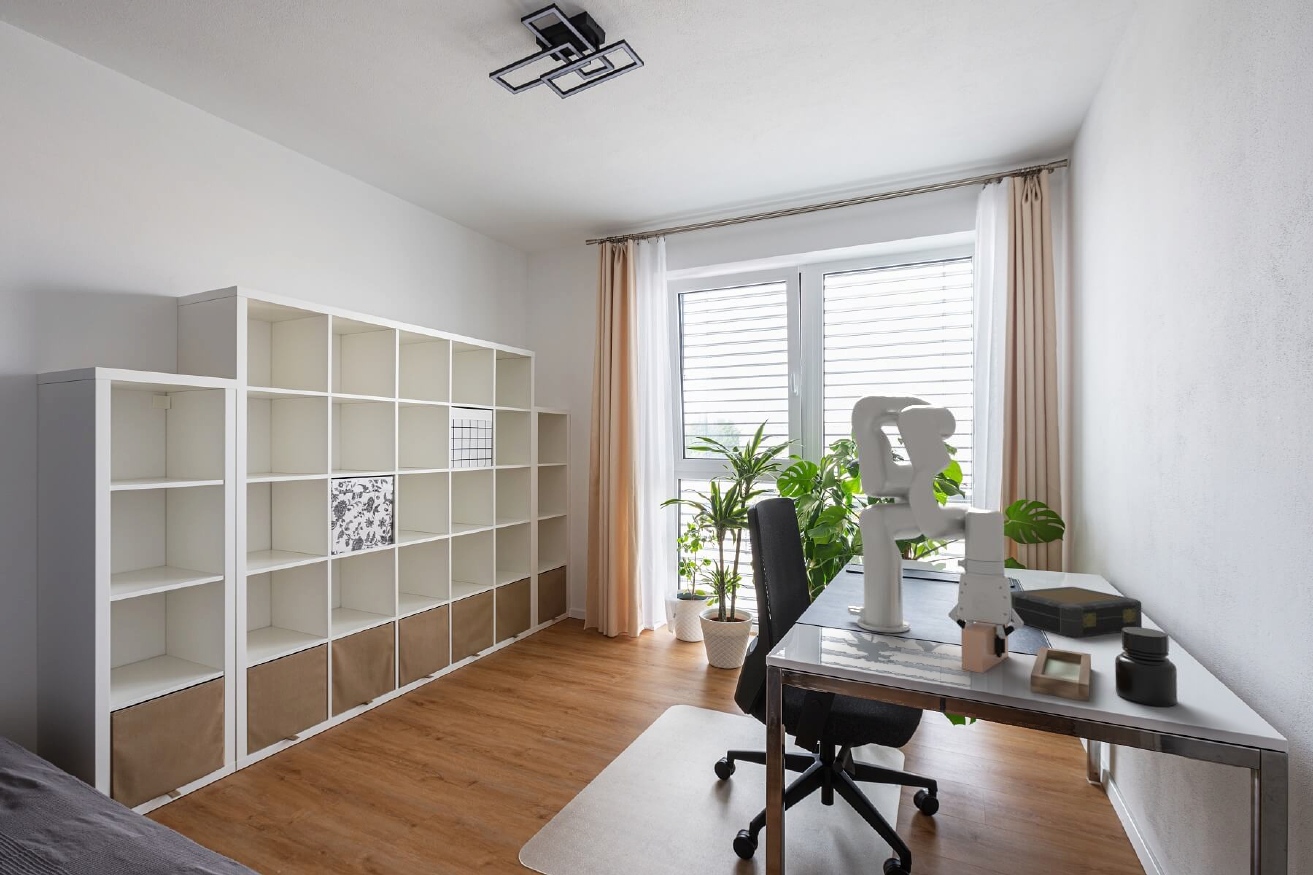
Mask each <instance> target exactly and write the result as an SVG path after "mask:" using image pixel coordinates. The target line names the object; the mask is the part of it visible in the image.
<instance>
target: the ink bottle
mask: <svg viewBox="0 0 1313 875" xmlns="http://www.w3.org/2000/svg"><path fill="white" fill-rule="evenodd" d="M1169 639H1170V638H1169V634H1168V633H1167V632H1164V631H1161V630H1157V629H1154V628H1149V627H1142V628H1140V627H1125V628H1122V632H1121V645H1122V646H1121V649H1122V650H1123V651H1122V652H1120V654H1118V655H1117V656H1116V657H1115V661H1114V662H1115V664H1114V666H1115V667H1114V668H1115V669H1114V670H1115V671H1114V673H1115V692H1116V694H1117V695H1118V696H1120V697H1122V698H1123V699H1126V700H1128V701H1132V702H1134V703H1138V704H1141V705H1146V706H1155V707H1170V706H1174V705H1176V704H1178V673H1177V672H1178V671H1177V667H1176V665H1175V664H1174V663H1173V661H1171V660H1170V659H1169V658H1168V656H1169V651H1170V649H1169V648H1170V645H1169V644H1170V642H1169Z"/></svg>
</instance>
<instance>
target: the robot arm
mask: <svg viewBox="0 0 1313 875" xmlns="http://www.w3.org/2000/svg"><path fill="white" fill-rule="evenodd" d="M850 421H851V428H852V432H853V436H854V439H855V442H856V448H857V459H858V468H859V477H860V484H861V489H862V492H863V493H864V494H865V495H866V496H868V498H869V497H870V498H875V499H890V498H891V499H893V500H894V502H883V503H882V502H878V503H872V504H869V505H867V506H865V507H864V508H863V509H862V510H861V512H860V514H859V516H858V526H859V532H860V536H861V537H860V538H861V540H862V541H861V542H862V556H863V557H862V558H863V559H862V561H863V563H862V564H863V606H860V607H857V606H853V605H849V606H848V608H847V612H848V614H850V616H851V615H852V616H858V617H859V618H858V619H857V626H859V627H860V628H862V629H864V630H868V631H871V632H879V633H887V634H888V633H895V634H896V633H903V632H907V631H909V630H910V623H909V622H908V621H906V620H904V606H903V605H904V604H903V603H904V592H903V590H904V586H903V585H904V584H903V583H904V582H903V581H904V580H903V577H904V576H903V571H904V570H903V568H904V567H903V557H902V552H901V550H900V549H899V548H900V547H898V545H897V543H896V541H898V540H911V539H916V538H919V537H920V536H921V535H923V536H924V537H925V538H928V540H930V541H935V542H936V541H937V542H938V541H941V542H942V541H960V540H961V541H962V540H963V541H964V558H963V559H958V560H957V567H962V568H963V569H964V571H962V572H961V573H960V577H959V581H958V592H957V593H958V594H957V604H956V605H955V606H954V607H953V608H952V609H951V610H950V612H949V613H947V614H948V617H949V618H950V619H951V620H952V621H954V622H955V623H956V624H957V625H958V626H959V627H960V628H961V630H962V629H964V628H966V627H968V626H970V625H972V624H974V623H976V622H980V623H987V624H995V625H996V627H997V631H998V637H997V639H996V655H997V657H998V658H1001V656H1002V653H1005V637H1007V636H1008V637H1009V636H1010V635H1011V634H1012V633H1013V632H1015V631H1017V630H1019V629H1020V628H1022V627H1024V625H1025V624H1024V622H1023V621H1022V620H1021V618H1020V617H1019V616H1018V614H1017V613H1016V612H1015V611H1014V609H1013V608H1012V597H1011V592H1012V590H1011V585H1010V583H1011V582H1010V580H1009V576H1008V575H1007V574H1005V572H1006V571H1005V520H1004V519H1005V518H1004V515H1003V513H1002V512H1001V511H998V510H996V509H985V508H983V509H982V508H979V509H978V508H975V507H972V506H966V505H954V506H953V505H952V506H951V505H947V506H945V505H944V506H943V505H941V506H940V505H939V504H938V501H937V498H936V496H935V492H934V480H935V478H936V476H937V475H939V474H941V473H942V472H944V471H945V470H947V469H948V468H949V467H950V465H951V463H952V459H951V456H950V454H949V452H948V448H947V446H946V444H945V440H948V439H950V438H952V437H953V435H954V433H955V431H956V429H957V428H956V426H957V424H956V423H957V422H956V419H955V416H954V415H953V413H952V411H950V410H949V409H948V408H947V407H946V406H943V405H940V404H939V403H935V402H933V401H931V400H928V399H925V398H924V397H923V398H922V397H920V396H917V395H913V394H904V393H887V392H886V393H885V392H877V393H876V392H875V393H870V394H869V393H868V394H866V395H863V396H861V397H860V398H859V399H858V400H856V402H855V404H854V405H853V408H852V412H851V420H850ZM882 427H897V430H898V433H899V435H900V438H901V440H902V443H903V445H904V448H905V451H906V453H907V456H908V458H909V460H910V462H906V461H894V458H893V450H892V444H891V441H890V439H889V437H888V436H887V434H886V433H885V431H884V430H883V429H882ZM1011 619H1013V621H1011ZM1011 622H1013V623H1011ZM1010 623H1011V624H1010ZM1007 624H1008V627H1006V628H1005V625H1007ZM1009 624H1010V625H1009Z"/></svg>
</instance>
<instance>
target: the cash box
mask: <svg viewBox="0 0 1313 875" xmlns="http://www.w3.org/2000/svg"><path fill="white" fill-rule="evenodd" d="M1011 597H1012V608H1013V609H1014V611H1015V612H1016V613H1017V614H1018V616H1019V617H1020V618H1021V620H1022V621H1023V622H1024V625H1025V624H1027V625H1026V626H1028V625H1029V626H1028V627H1032V626H1034V627H1033V628H1035V627H1036V628H1035V629H1040V630H1042V629H1043V631H1046V632H1049V631H1050V633H1053V634H1056V635H1061V636H1063V637H1068V638H1073V639H1075V638H1076V639H1077V638H1084V637H1085V638H1087V637H1094V636H1102V634H1103V635H1108V634H1110V635H1111V634H1117V633H1122V628H1125V627H1140V628H1143V627H1142V623H1143V622H1142V621H1143V620H1142V602H1141V601H1140V600H1138V599H1136V598H1131V597H1128V596H1127V597H1126V596H1122V595H1116V594H1111V593H1106V592H1103V591H1096V590H1092V589H1087V588H1082V587H1078V586H1062V587H1060V586H1059V587H1051V588H1041V589H1040V588H1039V589H1028V590H1027V589H1025V590H1015V591H1011ZM1011 622H1014V621H1013V619H1011Z"/></svg>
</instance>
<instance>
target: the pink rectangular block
mask: <svg viewBox="0 0 1313 875" xmlns="http://www.w3.org/2000/svg"><path fill="white" fill-rule="evenodd" d="M1008 626H1009V624H1007V625H1005V628H1006V627H1008ZM960 631H961V635H960V636H961V670H966V671H971V672H975V673H978V674H979V673H980V674H983V673H985V672H986V671H988V670H991V668H993V667H994V666H996V665H998V664H999V663H1000V662H1003V660H1005V659H1007V658H1008V657H1009V635H1008V636H1007V637H1005V653H1002V656H1001V658H998V657H997V655H996V639H997V637H998V631H997V627H996V625H995V624H987V623H980V622H974V624H972V625H970V626H968V627H966V628H964V629H962V628H961V630H960Z"/></svg>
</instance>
